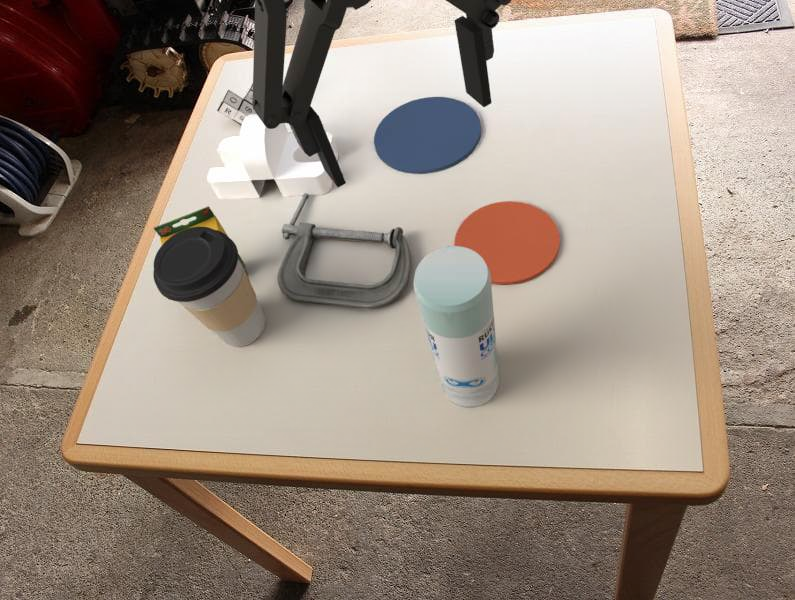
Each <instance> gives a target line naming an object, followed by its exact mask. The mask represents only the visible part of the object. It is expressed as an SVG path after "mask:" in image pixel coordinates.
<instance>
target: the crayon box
mask: <svg viewBox="0 0 795 600" xmlns="http://www.w3.org/2000/svg"><path fill="white" fill-rule="evenodd" d="M191 218H195V219H193V220H190V221H188V223H186V224H180V225H178V226H174V225H176V224H178V223H180V222H181V221H183V220H188V219H191ZM192 227H209V228H212V229H214V230H218V231H220V232H223V233H224V234H226V235H227V236H228V235H229V234H228V233H227V232H226V231H225V229H224V227H223V226H222V224H221V222H220V221H219V219H218V218H217V215H215V213H214V212H213V210H212V209H211V207H210V205H208V206H206V207H203V208H200V209H198V210H195V211H192V212H190V213H188V214H185V215H183V216H180V217H177V218H175V219H172V220H170V221H167V222H165V223H162V224H159V225H156V226H154V227H153V228H152V229H153V230H154V231H155V232H156V234H157V235H158V236H159V240H160V243H161V244H160V245H161V246H162V245H163V244H164V243H165V242H166V241H167V240H168V239H169V238H170V237H172V236H173V235H175V234H176V233H178V232H180V231H182V230H185V229H188V228H192ZM228 237H229V236H228ZM238 260H239V261H240V262H241V264H242V266H243V268H244V270H245V272H246V274H247V276H248V277H249V274H248V270H247V267H246V265H245V261H244V260H243V259H242V256H241V255H240V254H239V253H238Z"/></svg>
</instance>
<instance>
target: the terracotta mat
mask: <svg viewBox="0 0 795 600" xmlns="http://www.w3.org/2000/svg"><path fill="white" fill-rule="evenodd" d="M560 244H561V235H560V231H559V228H558V226H557V224H556V222H555V221H554V219H552V217H551V216H550V215H549V214H548V213H547V212H546V211H544V210H543V209H541V208H539V207H537V206H535V205H533V204H530V203H527V202H523V201H521V202H520V201H512V200H510V201H509V200H508V201H499V202H493V203H490V204H486V205H484V206H481V207H480V208H477V209H476V210H474V211H473V212H472V213H470V214H469V215H468V216H466V218H464V220H463V221H462V222H461V224H460V225H459V227H458V228H457V231H456V233H455V238H454V246H460V247H465V248H468V249H471V250H473V251H475V252H476V253H478V254H479V255H480V256H481V257H482V258H483V260H484V261H485V263H486V265H487V266H488V268H489V271H490V276H491V284H492V285H493V284H494V285H500V286H501V285H517V284H521V283H525V282H528V281H531V280H533V279H534V278H537V277H538V276H540V275H542V274H543V273H544V272H546V271H547V270H548V269H549V268H550V267H551V266H552V265H553V263H554V262H555V260H556V258H557V256H558V254H559V251H560Z"/></svg>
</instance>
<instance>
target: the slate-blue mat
mask: <svg viewBox="0 0 795 600" xmlns="http://www.w3.org/2000/svg"><path fill="white" fill-rule="evenodd" d="M481 136H482V123H481V119H480V117H479V115H478V113H477V112H476V111H475V110H474V108H473V107H471V106H470V105H469V104H467V103H466V102H464V101H461V100H459V99H456V98H452V97H446V96H427V97H422V98H417V99H414V100H410V101H408V102H405V103H403V104H401V105H399V106H397V107H395V108H394V109H392V110H391V111H390V112H389V113H387V114H386V115H385V116H384V117H383V118H382V119H381V121H380V122H379V124H378V126H377V127H376V130H375V132H374V136H373V144H374V149H375V152H376V155H377V157H378V158H379V159H380V160H381V161H382V162H383V163H384V164H385V165H387V166H388V167H390V168H391V169H394V170H396V171H398V172H402V173H405V174H406V173H407V174H415V175H416V174H419V175H421V174H422V175H423V174H431V173H436V172H441V171H443V170H446V169H449V168H451V167H453V166H455V165H457V164H458V163H461V162H462V161H464V160H465V159H466V158H467V157H468V156H469V155H470V154H472V152H473V151H474V150H475V149H476V147H477V145H478V144H479V142H480V139H481Z"/></svg>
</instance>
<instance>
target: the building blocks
mask: <svg viewBox="0 0 795 600" xmlns="http://www.w3.org/2000/svg"><path fill="white" fill-rule="evenodd" d="M252 101H253V82H252V83H251V84H250V86H249V88H248V89H247V90H246V92H245V94H244V95H243V97H241V96H240V95H238V94H236V93H234V92H233V91H232V90H230V89H228V90H227V91H226V93H225V95H224V97H223V98H222V100H221V102H220V104H219V106H218V107H217V110H216V111H217V112H218V113H220V114H222V115H223V116H225V117H227V118H228V119H230V120H231V121H233V122H234V123H237V124H238V125H240V126H242V122H243V120H244V119H245V117H246V116H248V115H249V114H256V112H255V110H254V109H253V106H252Z"/></svg>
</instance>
